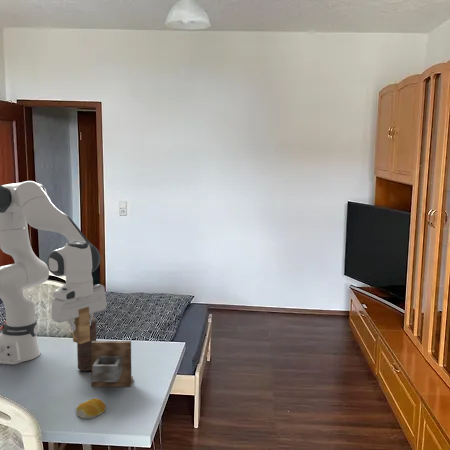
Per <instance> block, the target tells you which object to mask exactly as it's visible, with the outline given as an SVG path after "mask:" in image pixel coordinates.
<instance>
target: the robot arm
mask: <svg viewBox="0 0 450 450" xmlns="http://www.w3.org/2000/svg"><path fill="white" fill-rule="evenodd" d="M28 225H29V226H30V227H31V228H33V229H36V230H40V231H48V232H53V233H56V234H60V235H63V236H64V238H66V240H67V241H68V242H67V243H65V245H64V246H63V247H61V248H58V249H54V250H52V251H51V252H50V253H49V255H48V257H47V263H45V261H43V260H41V259H40V258H39V257H38V256H37V255H36V254H35V252H34V251H33V248H32V245H31V240H30V234H29V229H28V228H29V227H28ZM0 250H1V251H2V252H3V253H4V254H6V255H9V256H10V257H11V258H12V259H13V261H14V263H11V264H7V265H1V266H0V300H1V301H2V303H3V305H4V309H5V311H4V312H5V319H6V320H5V321H4V323H3V324H2V325H1V326H0V331H1V332H0V364H2V365H12V366H13V365H17V364H21V363H23V362H28V361H31V360H34V359H36V358H38V357H39V356H40V355H41V353H42V352H41V349H40V346H39V343H38V342H39V341H38V337H37V336H38V335H37V334H38V325H37V324H38V323H37V320H36V305H35V302H34V301H33V300H32V299H30V298H29V297H26V296H24V293H23V291H24V290H25V289H26V290H27V289H29V288H30V289H31V288H35V287H37V286H39V285H41V284H43V283H46V282H47V281H48V280H49V277H50V273H51V274H52V275H53V276H55V277H65V284H63V285H62V286H60V287H59V288H56V289H55V290H53V292H52V297H53V298H54V299H53V300H52V302H51V319H52V321H53V322H55V323H60V324H61V323H65V322H68V324H69V325H70V330H71V331H72V332H73V331H76V330H78V325H75V324H74V322H73V321H75V318H78V317H79V309H83V308H86V307H89V324H90V326H91V320H92V318H93V317H94V313H97V312H101V311H104V310H106V308H107V306H108V303H107V296H106V290H105V289H106V288H105V285H103V284H102V283H98V284H94V277H93V275H92V274H93V272H95V271H96V270H97V269H98V267H99V265H100V264H101V262H102V261H101V259H102V256H101V253H100V251H99V250H98V248H97V247H96V246H95V245H94V244H93V243H91V242H90V241H89V239H88V238H87V236H86V235H85V234H84V233H83V232H82V231H81V230H80V228H79V226H78V225H77V224H76V223H75V222H74V220H72V218H71V217H70V216H69V215H67V214H66V213H64V212H62V211H61V210H60V209H58V208H57V207H56V205H54V203H53V202H52V201H51V199H50V197H49V196H48V192H47V190H46V188H45V186H44V184H42V183H38V182H35V181H33V180H26V181H22V182H16V183H8V184H3V185H2V184H0ZM93 319H94V318H93Z"/></svg>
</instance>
